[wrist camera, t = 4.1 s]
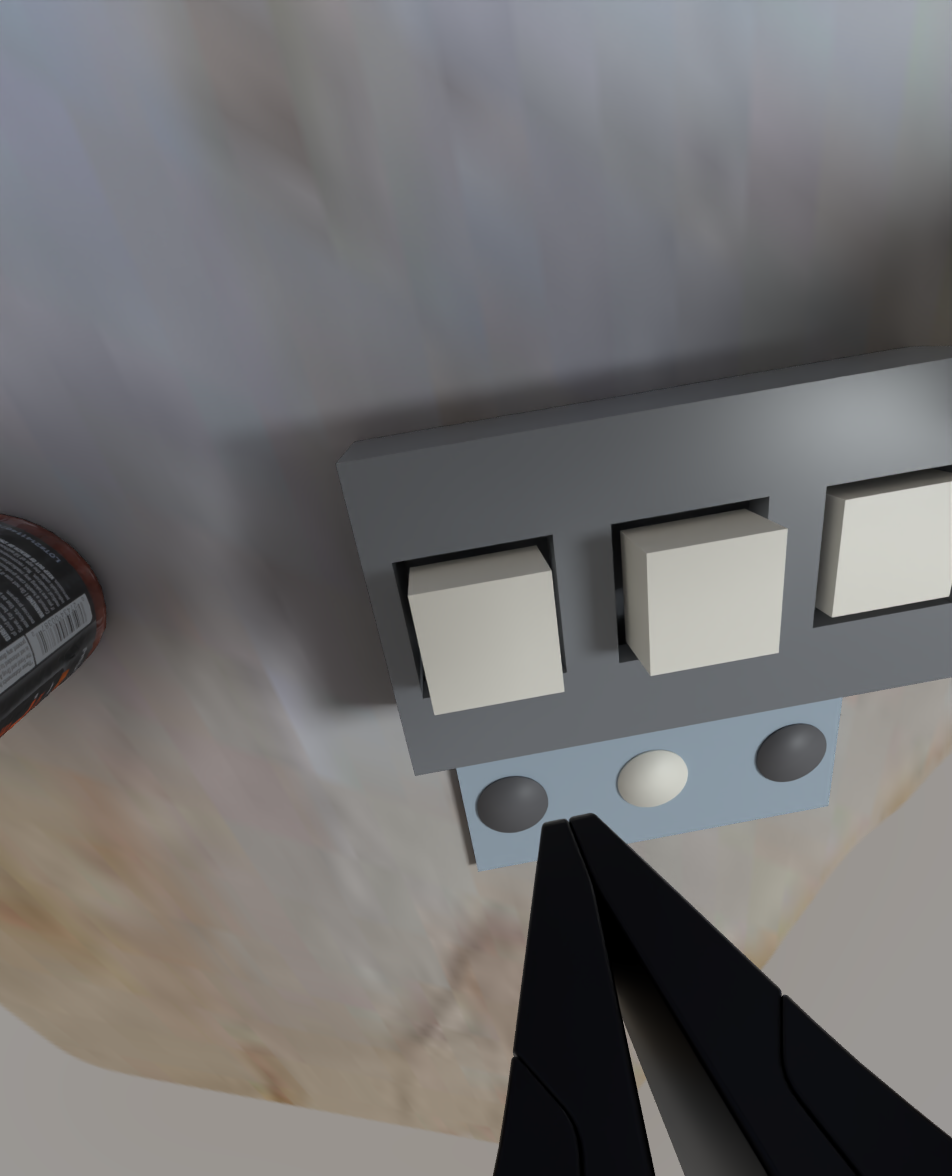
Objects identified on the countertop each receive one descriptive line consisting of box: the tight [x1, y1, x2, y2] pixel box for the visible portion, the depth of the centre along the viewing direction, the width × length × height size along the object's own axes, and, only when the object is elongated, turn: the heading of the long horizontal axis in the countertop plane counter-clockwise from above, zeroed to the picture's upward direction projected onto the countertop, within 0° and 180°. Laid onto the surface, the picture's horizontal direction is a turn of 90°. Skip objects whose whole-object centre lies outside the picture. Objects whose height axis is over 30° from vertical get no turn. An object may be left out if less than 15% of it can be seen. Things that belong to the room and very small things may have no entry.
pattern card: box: [456, 697, 842, 872], centre depth 23 cm, size 16×7×1 cm, turn 99°
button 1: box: [408, 545, 565, 715], centre depth 15 cm, size 4×4×2 cm
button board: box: [336, 346, 952, 776], centre depth 18 cm, size 18×10×4 cm, turn 99°
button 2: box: [815, 468, 952, 617], centre depth 17 cm, size 4×4×2 cm
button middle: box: [620, 509, 788, 676], centre depth 15 cm, size 4×4×2 cm
